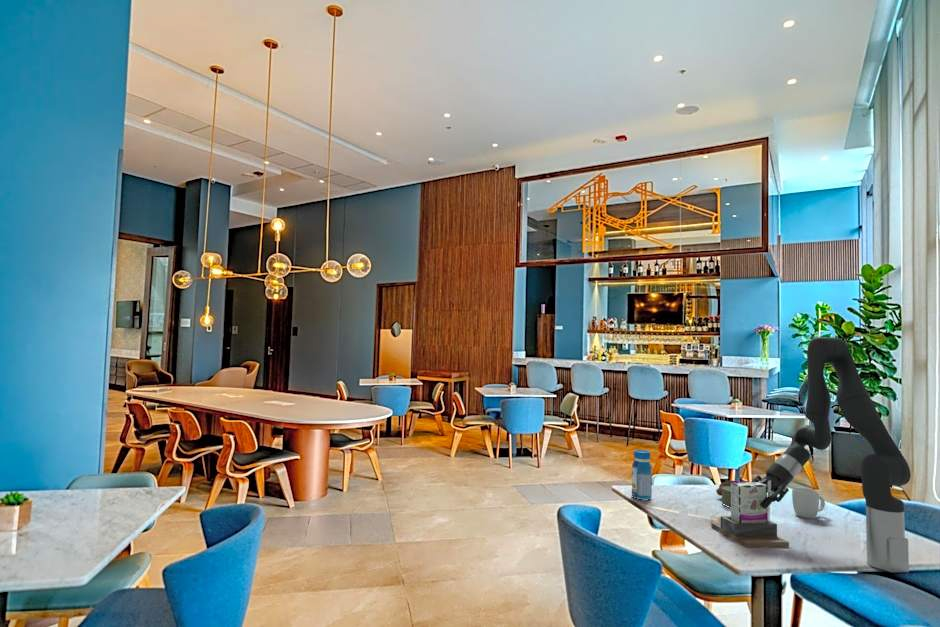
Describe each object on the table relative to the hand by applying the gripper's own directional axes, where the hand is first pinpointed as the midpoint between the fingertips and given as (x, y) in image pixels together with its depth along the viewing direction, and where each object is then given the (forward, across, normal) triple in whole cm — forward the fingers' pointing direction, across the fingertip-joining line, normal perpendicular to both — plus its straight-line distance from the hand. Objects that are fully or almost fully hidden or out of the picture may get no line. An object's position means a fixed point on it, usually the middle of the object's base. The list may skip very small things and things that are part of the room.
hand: (753, 503), depth 185 cm
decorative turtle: (-9, -47, +25) cm, 54 cm away
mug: (-20, -22, +36) cm, 47 cm away
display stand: (+9, 0, +6) cm, 11 cm away
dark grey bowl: (-5, -36, +21) cm, 42 cm away
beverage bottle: (+21, -48, -5) cm, 53 cm away
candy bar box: (+8, 0, +6) cm, 10 cm away
